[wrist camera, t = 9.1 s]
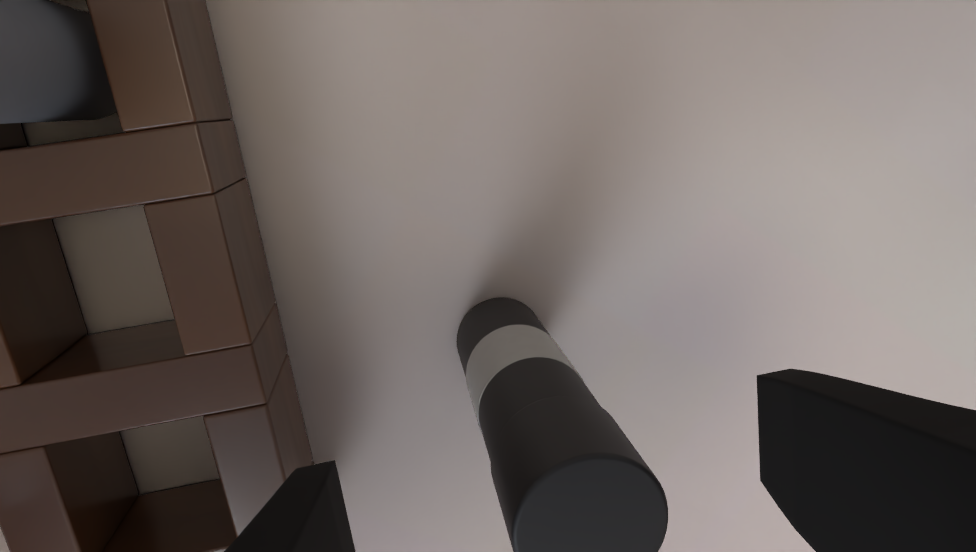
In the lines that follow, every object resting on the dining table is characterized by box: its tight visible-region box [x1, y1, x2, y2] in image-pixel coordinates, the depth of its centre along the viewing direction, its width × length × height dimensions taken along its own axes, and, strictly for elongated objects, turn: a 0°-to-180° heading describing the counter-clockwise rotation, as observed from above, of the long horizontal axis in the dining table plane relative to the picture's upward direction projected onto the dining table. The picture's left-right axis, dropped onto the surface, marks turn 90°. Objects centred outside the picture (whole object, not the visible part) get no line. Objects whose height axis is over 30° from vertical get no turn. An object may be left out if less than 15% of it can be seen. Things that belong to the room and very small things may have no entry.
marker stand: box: [0, 0, 314, 552], centre depth 14 cm, size 14×6×3 cm, turn 8°
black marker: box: [457, 298, 668, 552], centre depth 13 cm, size 2×2×8 cm
